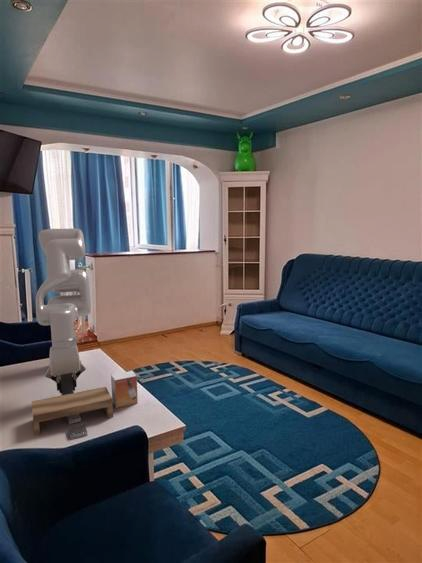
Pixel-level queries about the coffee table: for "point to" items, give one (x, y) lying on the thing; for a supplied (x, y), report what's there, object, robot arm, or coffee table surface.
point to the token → (77, 431)
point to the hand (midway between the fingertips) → (67, 389)
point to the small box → (124, 389)
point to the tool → (68, 389)
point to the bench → (71, 405)
